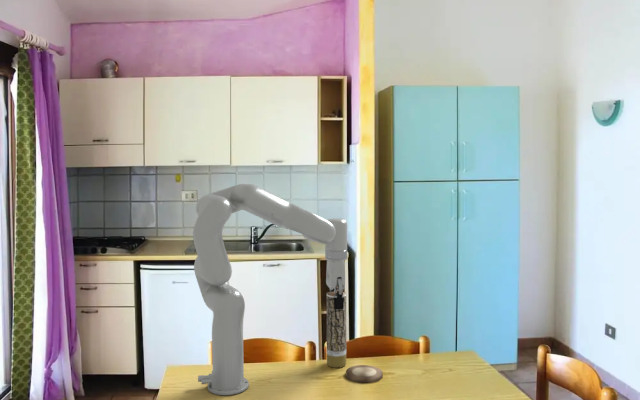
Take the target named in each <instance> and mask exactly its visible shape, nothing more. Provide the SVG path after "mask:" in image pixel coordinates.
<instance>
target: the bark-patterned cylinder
mask: <svg viewBox="0 0 640 400" xmlns="http://www.w3.org/2000/svg"><path fill="white" fill-rule="evenodd" d="M336 292H337V291H336ZM334 298H335V294H334V291H333V292H330V291H328V292H326V304H325V305H326V364H327V366H328V367H330V368H334V367H335V368H336V369H338V367H340V368H342V367H345V366H346V364H347V293H346V292H344V291H343V309H337V310H335V309H334ZM335 368H334V369H335Z"/></svg>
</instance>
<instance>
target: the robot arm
mask: <svg viewBox="0 0 640 400" xmlns="http://www.w3.org/2000/svg"><path fill="white" fill-rule="evenodd" d="M195 205H196V206H195V211H196V213H197V218H196V220H195V222H194V226H193V232H192V239H193V243H194V248H195V251H196V255H197V256H196V258H195V260H194V265H193V271H194V274H195V279H196V282H197V285H198V288H199V291H200V293H201V297H202V299H203V302H204V304H205V305H206V308H208V309H210V310H211V311H212V313H213V318H212V324H211V347H212V349H211V353H212V356H211V357H212V370H211V373H208V374H205V375H204V374H202V375H200V374H199V375H198V376H197V383H201V385H206V384H207V390H208V391H209V392H210V393H212V394H213V395H218V396H233V395H237V394H240V393H243V392H245V391H246V390H248V388H249V386H250V382H249V380H248V379H247V378H245V377H244V375H245V374H244V372H245V370H244V369H245V368H244V363H245V362H244V318H245V317H244V316H245V311H246V310H245V309H246V303H245V302H246V301H245V298H244V297H243V295H242V293H241V292H240V291H239V290H238V288H235V287H233V286H231V285H230V283H229V282H230V279H231V277H232V273H233V269H232V264H231V263H230V259H229V256H228V252H227V250H226V247H225V243H224V238H223V229H224V227H225V225H226V223H227V222H228V221H229V219H230V218H231V216H232V214H234V213H237V212H239V211H245V212H248V213H250V214H252V215H254V216H256V217H258V218H260V219H262V220H264V221H267V222H268V223H270V224H272V225H274V226H276V227H279V228H282V229H284V230H285V229H286V230H289V231H293V232H296V233H299V234H301V235H302V237H303V238H304V239H306V240H307V241H310V242H314V243H318V244H322V245H324V256H325V257H324V259H325V260H326V271H325V272H326V273H325V274H326V275H325V276H326V278H325V283H326V286H327V287H328V288H329V292H333V291H334V294H335V298H334V309H335V310H337V309H343V292H344V289H345V288H346V269H345V268H346V266H345V263H346V262H345V261H347V260H348V222H347V220H346V219H344V218H329V219H325V218H323V217H321V216H319V215H317V214H315V213H313V212H312V211H308V210H307V209H304V208H302V207H300V206H299V205H295V204H294V203H291V202H289V201H288V200H285V199H283V198H281V197H279V196H277V195H275V194H273V193H271V192H269V191H268V190H266V189H263V188H262V187H259V186H258V185H255V184H249V183H248V184H247V183H240V184H236V185H232V186H229V187H227V188H224V189H221V190H217V191H213V192H210V193H208V194H205V195H203V196H201V197H200V198H199V199H198V200H197V203H196V204H195ZM336 291H337V292H336Z"/></svg>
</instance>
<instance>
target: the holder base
mask: <svg viewBox="0 0 640 400" xmlns="http://www.w3.org/2000/svg"><path fill="white" fill-rule="evenodd" d="M345 376H346V378H347V379H348V380H350V381H352V382H355V383H358V384H359V383H360V384H370V383H376V382H379V381H381V380H382V379H383V370H382V369H380V368H379V367H377V366H374V365H369V364H367V365H366V364H360V365H359V364H358V365H353V366H350V367H348V368H347V369H346V371H345Z"/></svg>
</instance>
